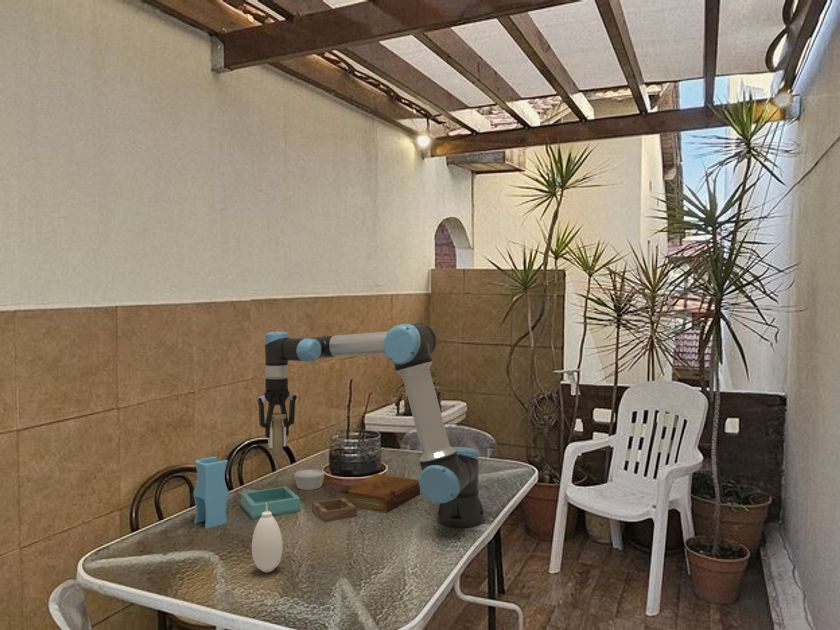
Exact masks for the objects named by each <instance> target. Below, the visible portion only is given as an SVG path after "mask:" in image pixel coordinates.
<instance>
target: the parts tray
mask: <svg viewBox="0 0 840 630" xmlns="http://www.w3.org/2000/svg"><path fill="white" fill-rule="evenodd" d="M266 502H267V508H268V511H270V512H271V513H272V516H273V517H276V516H277V517H278V516H282V515H287V514H294V513H299V512H301V498H300V497H299V495H297V493H295V492H294V491H293V490H291V489H290V488H289V487H288V486H287V485H285V486H279V487H278V486H277V487H270V488H264V489H258V490H253V491H245V492H241V493H240V507H242V509H243V510H244V512H245V513H246V514H247V515H248V517H250V519H251V520H253V521H254V520H259V519H260V518H261V517H262V513H263V512H266Z"/></svg>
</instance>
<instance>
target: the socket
mask: <svg viewBox="0 0 840 630" xmlns="http://www.w3.org/2000/svg"><path fill="white" fill-rule="evenodd" d="M311 508H312V509H311V510H312V511H311V512H312V513H314V514H315V515H316V516H317V517H318V518H319V519H320V520H322V521H323V522H324V523H327V522H332V521H337V520H338V521H339V520H343V519H349V518H353V517H355V518H356V517H357V516H358V513H357V511H358V510H357V509H358V508H357V507H356V506H354V505H353V504H352V503H350V502H349V501H347V500H346V499H345V498H343V496H342V497H337V498H329V499H325V500H324V499H323V500H320V501H319V500H318V501H313V502H312V504H311Z"/></svg>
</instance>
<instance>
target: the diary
mask: <svg viewBox="0 0 840 630" xmlns="http://www.w3.org/2000/svg"><path fill="white" fill-rule="evenodd" d="M339 491H340V493H342V497H343V498H345V499H346V500H347V501H349V502H350V503H352V504H353V505H354V506H356V507H357V509H361V510H368V511H373V512H379V513H388V512H389V511H391V510H393V509H395V508H396V507H398V506H400V505H402V504H404V503H406V502H408V501H409V500H411V499H413V498H414V497H416V496H418V495H420V494H421V489H420V486H419V479H414V478H406V477H401V476H393V475H387V474H381V473H380V474H379V473H375V474H373V475H371V476H369V477H367V478H364V479H362V480H360V481H358V482H356V483H352V484H351V485H349V486H347V487H346V486H345V487H344V488H342V489H340V490H339Z"/></svg>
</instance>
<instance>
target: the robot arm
mask: <svg viewBox="0 0 840 630" xmlns="http://www.w3.org/2000/svg"><path fill="white" fill-rule="evenodd" d="M437 346H438V336H437V333H436V332H435V330H434V329H433V328H432V327H431V326H430V325H428V324H426V323H423V322H413V323H400V324H398V325H395V326H393V327H392V328H390V329H389V330H388V331H377V332H363V333H353V334H352V333H351V334H338V335H337V334H336V335H335V334H334V335H322V336H315V337H301V338H293V337H292V338H291V337H290V338H289V335H288V332H287V331H269V332H267V333H265V339H264V355H265V364H264V365H265V366H264V368H265V372H264V373H265V375H264V376H265V385H264V386H265V389H264V390H265V391H264V394H263V395H261V396H258V397H256V401H257V404H258V419H259V420H258V421H259V427H262V428H264V429H265V431H264V434H265V435H264V437H265V438H267V445H268V446H267V447H268V448H269V449H271V448H273V440H272V421H271V420H272V415H273V413H274V410H275V406H279V408H280V413H282V414H286V418H285V419H284V420H282V424H283V425H282V432H283V447H287V437H288V436H289V433H290V432H289V430H290V429H289V427H291V425H294V424H295V415H296V414H295V411H296V410H295V409H296V408H295V407H296V406H295V405H296V401H297V398H298V396H297V395H296V394H291V393H290V391H289V378H288V376H289V361H294V362H295V361H296V362H303V363H304V362H305V363H309V362H316V361H317V360H318V359H325V358H326V359H327V358H330V359H331V358H338V357H339V358H342V357H357V356H358V357H360V356H363V357H364V356H375V355H376V356H378V355H384V356H385V357H386V358H387V359H388V361H390V362H391V363H393V367H394V370H395V373H397V374H398V375H400V376H401V378H402V381H403V384H404V389H405V393H406V396H407V398H408V399H407V400H408V404H409V407H410V412H411V414H412V418H413V419H412V420H413V422H414V427H415V431H416V434H417V437H418V441H419V445H420V449H421V452H422V453H421V455H420V458H419V461H418V462H419V465H420V469H421V472H420V475H419V478H418V481H419V486H420V492H421V493H422V494H423V496H424V497H425V498H426V499H428V500H430V501H431V502H433V503H436V504H439V505H438V509H437V512H436V520H437V522H438V523H439V524H441V525H443V526H446V527H452V528H463V529H464V528H471V527H472V528H473V527H476V526H479V525H482V524H483V523H484V521H485V511H484V509H483V504H482V502H481V499H480V494H479V493H480V492H479V461H480V459H479V453H478V450H477V449H475V448H471V447H464V446H451V445H450V441H449V437H448V434H447V430H446V427H445V422H444V419H443V415H442V412H441V407H440V403H439V400H438V397H437V393H436V389H435V385H434V381H433V377H432V374H431V370H430V369H431V366H432V365H433V358H432V356H431V355H433V354H434V352H435V350H436V349H437ZM265 400H266V401H267V402H268V405H267V412H266V418H265V404H264V403H265ZM287 400H289V401H288V402H289V404H288V407H289V408H288V410H289V411H288V412H287V408H286V407H287V406H286V401H287Z"/></svg>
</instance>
